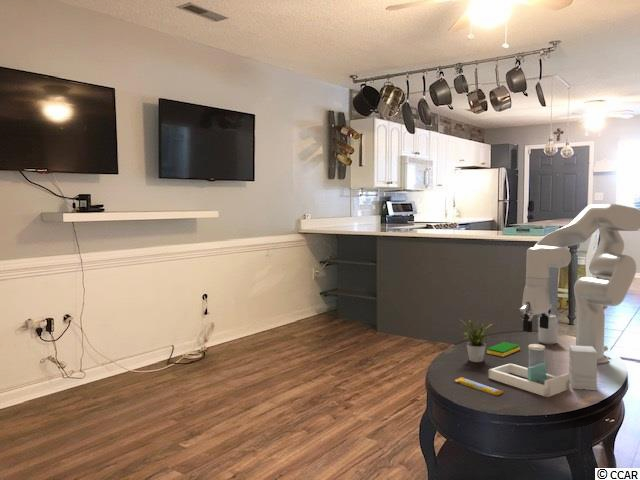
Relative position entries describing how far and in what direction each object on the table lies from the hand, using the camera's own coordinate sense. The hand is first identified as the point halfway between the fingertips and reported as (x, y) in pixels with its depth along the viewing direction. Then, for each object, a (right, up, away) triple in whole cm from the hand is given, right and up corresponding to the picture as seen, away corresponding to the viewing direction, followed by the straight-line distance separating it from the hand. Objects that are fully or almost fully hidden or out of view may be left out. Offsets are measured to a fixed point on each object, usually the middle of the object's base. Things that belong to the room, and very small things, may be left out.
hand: (535, 329), depth 184 cm
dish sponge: (-2, -14, +26) cm, 29 cm away
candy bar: (-25, -17, -15) cm, 33 cm away
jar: (+1, -15, +1) cm, 15 cm away
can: (+21, -12, +38) cm, 45 cm away
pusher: (-4, -16, -16) cm, 23 cm away
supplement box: (+9, -16, -15) cm, 24 cm away
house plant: (-18, -14, +15) cm, 28 cm away
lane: (-8, -16, -11) cm, 21 cm away
